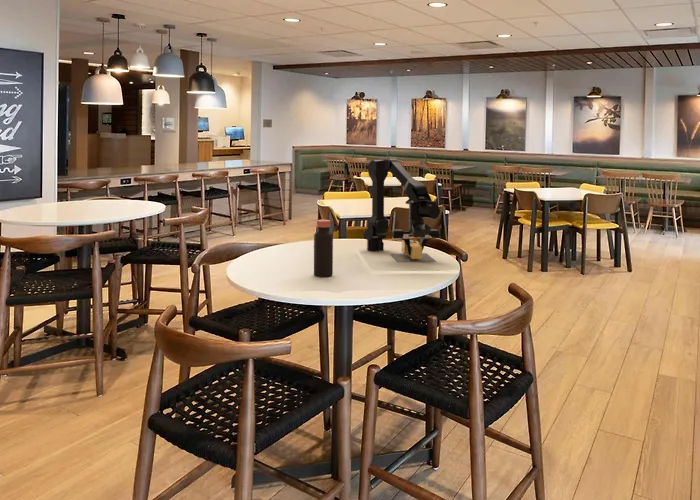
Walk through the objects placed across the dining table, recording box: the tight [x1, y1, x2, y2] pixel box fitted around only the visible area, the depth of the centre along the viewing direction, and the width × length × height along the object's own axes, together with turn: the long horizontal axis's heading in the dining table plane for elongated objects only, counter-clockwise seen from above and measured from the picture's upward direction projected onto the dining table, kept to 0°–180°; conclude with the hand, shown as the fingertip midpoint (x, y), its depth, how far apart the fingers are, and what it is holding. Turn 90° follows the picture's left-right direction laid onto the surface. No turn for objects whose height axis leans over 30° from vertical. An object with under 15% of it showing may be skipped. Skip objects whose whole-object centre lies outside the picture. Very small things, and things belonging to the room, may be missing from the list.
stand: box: [389, 239, 438, 263], centre depth 250 cm, size 16×18×8 cm
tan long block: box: [400, 240, 423, 259], centre depth 249 cm, size 15×6×4 cm, turn 6°
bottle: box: [313, 219, 334, 278], centre depth 220 cm, size 7×7×20 cm
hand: (414, 254), depth 245 cm, fingers closed on tan long block, 4 cm apart
